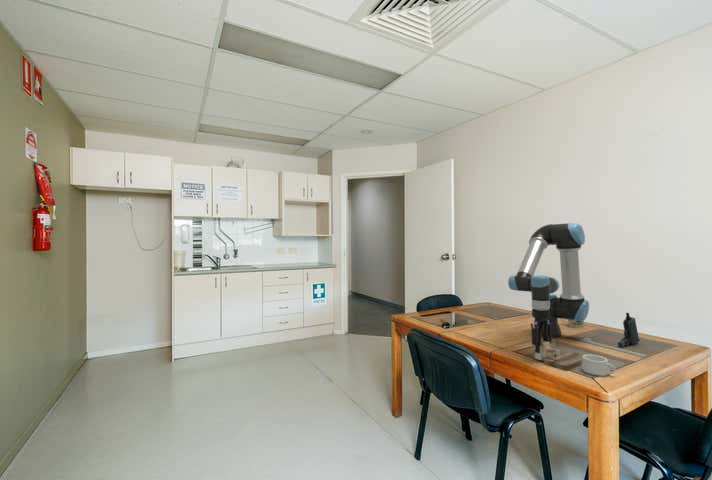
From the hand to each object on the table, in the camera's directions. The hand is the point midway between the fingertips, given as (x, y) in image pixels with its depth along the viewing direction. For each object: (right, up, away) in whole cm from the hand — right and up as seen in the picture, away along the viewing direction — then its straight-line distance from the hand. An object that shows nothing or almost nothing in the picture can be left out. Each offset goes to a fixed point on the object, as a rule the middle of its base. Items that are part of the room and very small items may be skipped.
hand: (542, 358), depth 154 cm
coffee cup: (+52, +1, +53) cm, 74 cm away
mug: (+15, -1, -16) cm, 22 cm away
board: (+9, -1, -4) cm, 10 cm away
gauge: (+1, 0, -2) cm, 3 cm away
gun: (+54, +1, +16) cm, 57 cm away
